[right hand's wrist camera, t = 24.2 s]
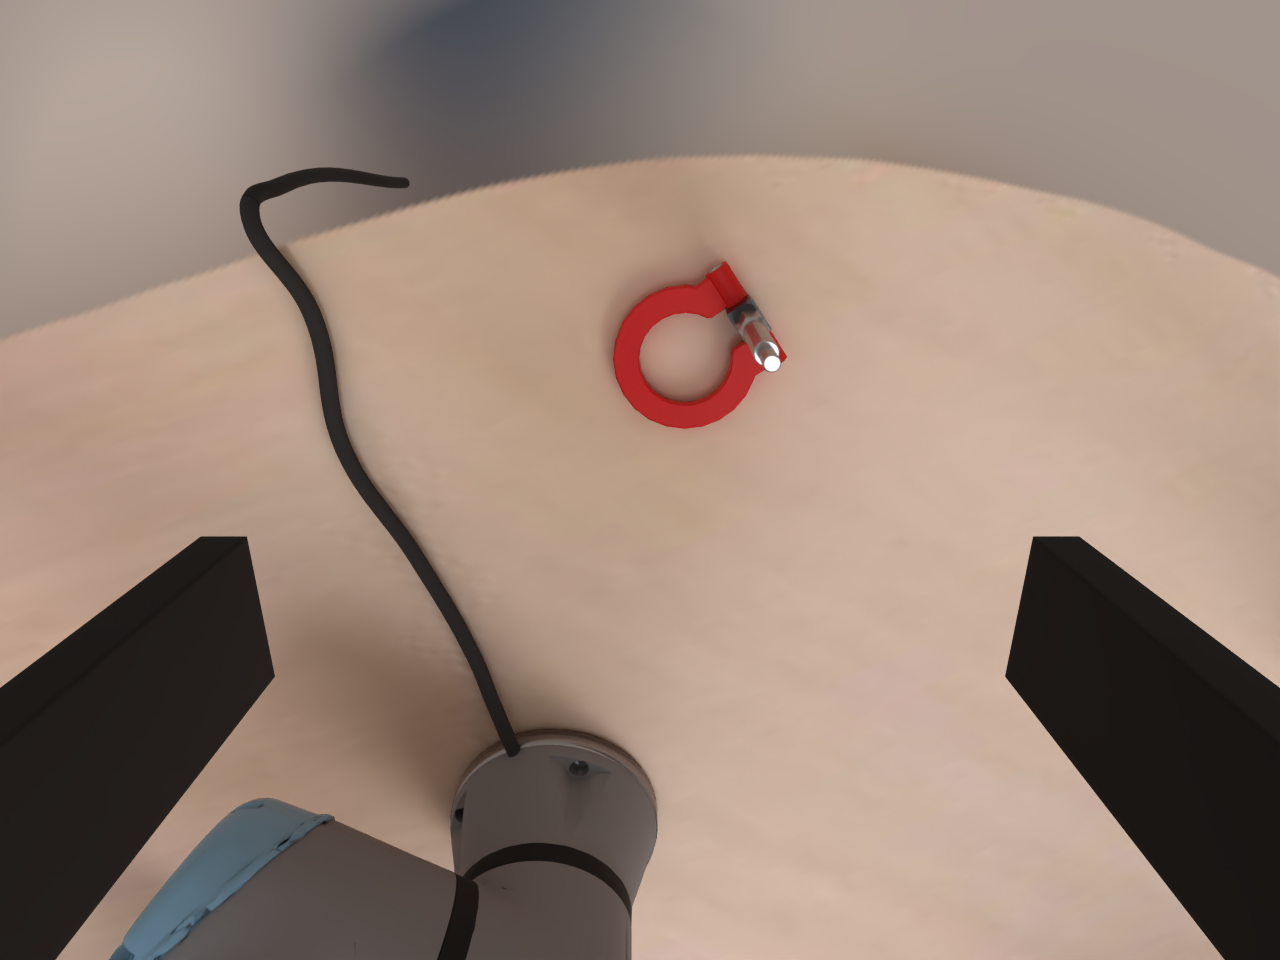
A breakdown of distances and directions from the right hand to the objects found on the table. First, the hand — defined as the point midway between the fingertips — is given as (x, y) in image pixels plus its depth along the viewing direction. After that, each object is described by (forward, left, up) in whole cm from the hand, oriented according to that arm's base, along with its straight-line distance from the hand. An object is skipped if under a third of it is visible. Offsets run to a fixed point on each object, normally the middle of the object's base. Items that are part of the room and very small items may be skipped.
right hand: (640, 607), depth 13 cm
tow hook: (+3, +2, -33) cm, 33 cm away
